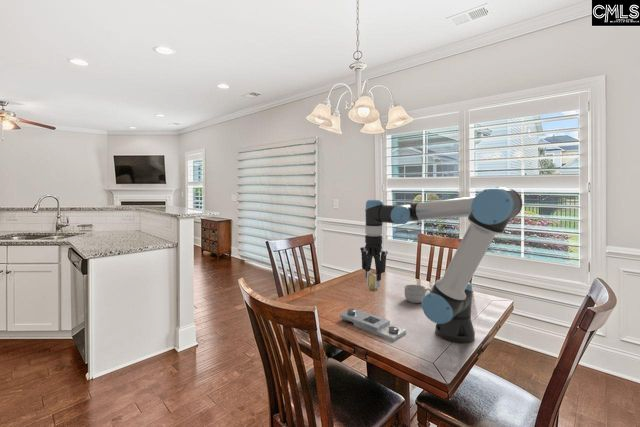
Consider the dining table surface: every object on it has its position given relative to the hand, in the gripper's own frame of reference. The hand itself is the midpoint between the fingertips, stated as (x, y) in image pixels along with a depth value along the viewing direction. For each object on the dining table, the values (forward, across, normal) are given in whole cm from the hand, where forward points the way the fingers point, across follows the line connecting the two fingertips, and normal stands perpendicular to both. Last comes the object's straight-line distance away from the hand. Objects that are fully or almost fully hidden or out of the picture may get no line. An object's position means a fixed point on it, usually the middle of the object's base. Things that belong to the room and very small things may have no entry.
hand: (373, 286), depth 146 cm
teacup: (+17, -1, -37) cm, 41 cm away
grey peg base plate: (+16, -3, +4) cm, 17 cm away
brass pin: (+2, 0, 0) cm, 2 cm away
